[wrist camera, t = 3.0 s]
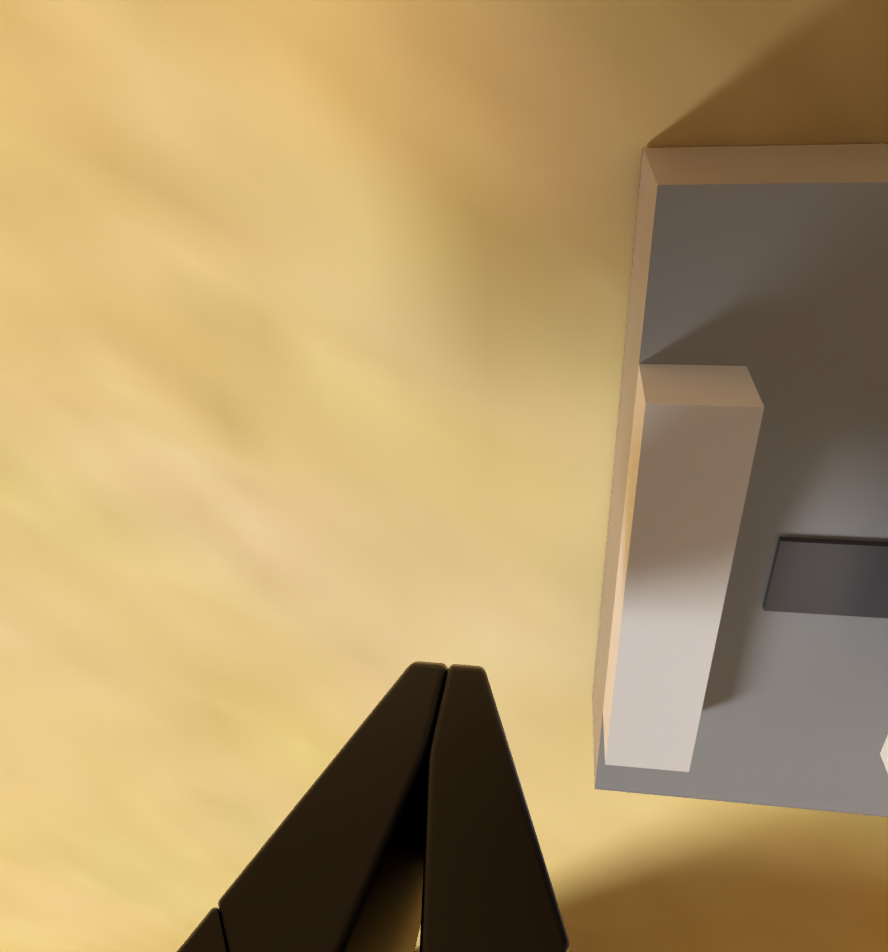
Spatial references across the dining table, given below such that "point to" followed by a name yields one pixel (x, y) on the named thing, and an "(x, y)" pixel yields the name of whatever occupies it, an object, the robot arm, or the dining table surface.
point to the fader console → (751, 485)
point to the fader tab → (885, 754)
